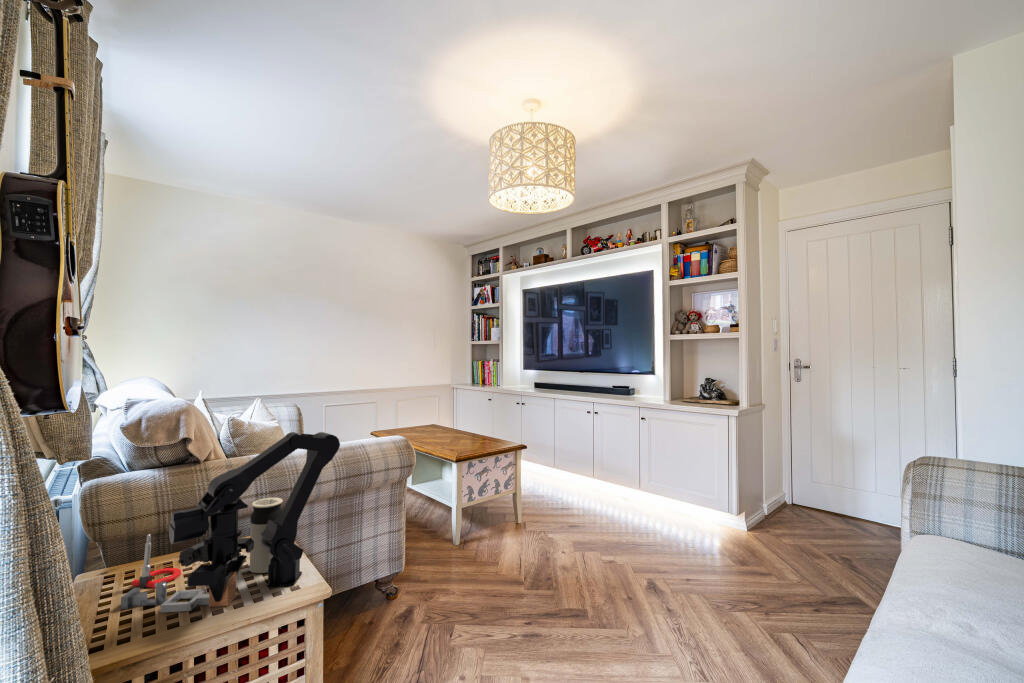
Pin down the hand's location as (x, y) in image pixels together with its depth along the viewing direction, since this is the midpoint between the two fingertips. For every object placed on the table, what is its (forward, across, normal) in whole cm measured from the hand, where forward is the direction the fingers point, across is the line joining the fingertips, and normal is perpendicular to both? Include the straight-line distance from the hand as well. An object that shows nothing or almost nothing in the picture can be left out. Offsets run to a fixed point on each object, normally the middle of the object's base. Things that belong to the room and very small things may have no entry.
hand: (223, 596), depth 106 cm
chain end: (+1, 0, -5) cm, 5 cm away
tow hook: (+2, -14, -22) cm, 26 cm away
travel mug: (+2, -17, +3) cm, 17 cm away
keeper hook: (+1, -1, -18) cm, 18 cm away
